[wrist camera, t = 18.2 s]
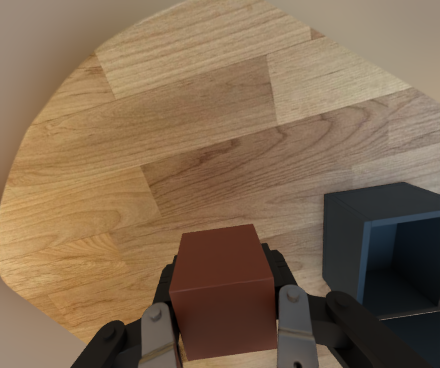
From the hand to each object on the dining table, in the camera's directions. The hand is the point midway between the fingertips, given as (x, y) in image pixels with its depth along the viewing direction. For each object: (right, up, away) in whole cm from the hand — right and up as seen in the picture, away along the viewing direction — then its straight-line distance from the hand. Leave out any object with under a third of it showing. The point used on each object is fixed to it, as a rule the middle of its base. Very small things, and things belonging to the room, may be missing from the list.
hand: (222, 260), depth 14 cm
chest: (+24, -3, +22) cm, 32 cm away
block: (0, 0, 0) cm, 0 cm away
